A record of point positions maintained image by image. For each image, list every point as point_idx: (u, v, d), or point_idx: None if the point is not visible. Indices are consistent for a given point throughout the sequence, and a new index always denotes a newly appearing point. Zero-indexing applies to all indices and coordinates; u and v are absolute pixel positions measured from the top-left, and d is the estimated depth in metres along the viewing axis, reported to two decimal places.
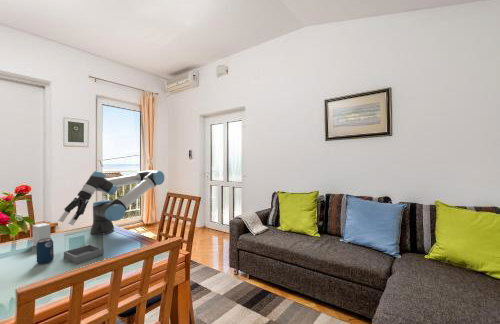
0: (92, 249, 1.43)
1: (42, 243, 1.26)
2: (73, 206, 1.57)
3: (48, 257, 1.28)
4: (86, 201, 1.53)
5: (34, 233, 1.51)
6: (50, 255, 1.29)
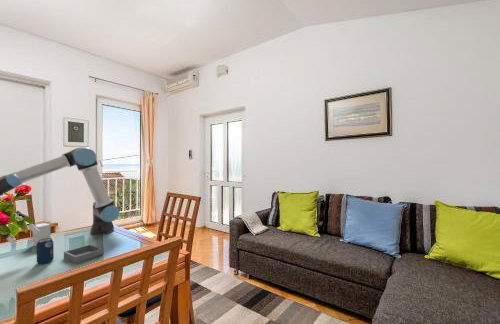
0: (92, 249, 1.43)
1: (42, 243, 1.26)
2: None
3: (48, 257, 1.28)
4: None
5: None
6: (50, 255, 1.29)
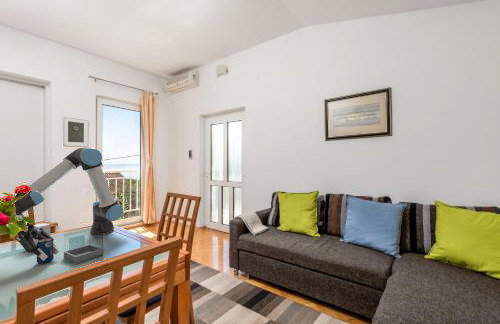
0: (92, 249, 1.43)
1: (42, 243, 1.26)
2: (40, 238, 1.32)
3: (48, 257, 1.28)
4: (18, 239, 1.23)
5: None
6: (50, 255, 1.29)
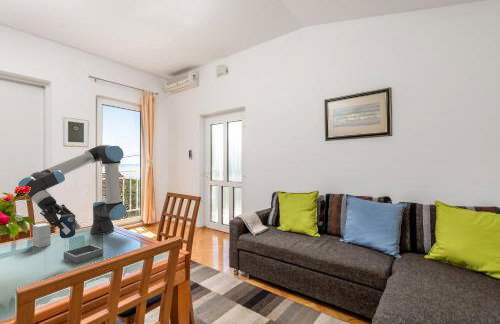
0: (92, 249, 1.43)
1: (64, 217, 1.29)
2: (62, 214, 1.35)
3: (71, 232, 1.31)
4: (42, 212, 1.26)
5: (34, 233, 1.51)
6: (72, 230, 1.32)
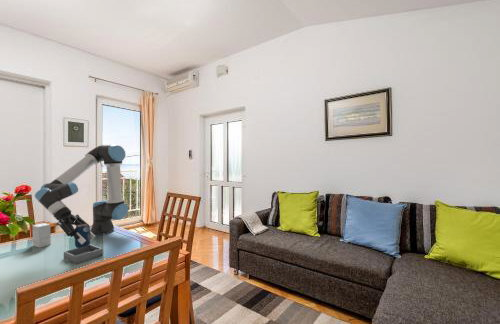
0: (92, 249, 1.43)
1: (80, 227, 1.33)
2: (77, 224, 1.38)
3: (86, 242, 1.34)
4: (59, 223, 1.29)
5: (34, 233, 1.51)
6: (87, 240, 1.35)
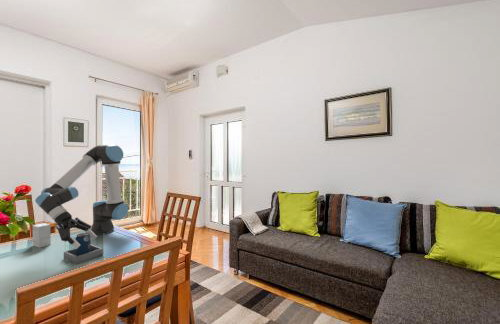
0: (92, 249, 1.43)
1: (80, 237, 1.33)
2: (79, 226, 1.40)
3: (87, 251, 1.34)
4: (58, 226, 1.29)
5: (34, 233, 1.51)
6: (88, 249, 1.35)
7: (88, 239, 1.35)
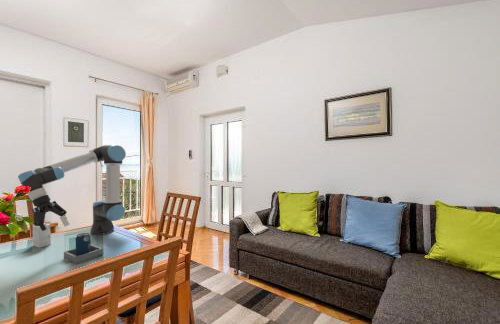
0: (92, 249, 1.43)
1: (80, 237, 1.33)
2: (54, 211, 1.41)
3: (87, 251, 1.34)
4: (34, 210, 1.30)
5: (34, 233, 1.51)
6: (88, 249, 1.35)
7: (88, 239, 1.35)
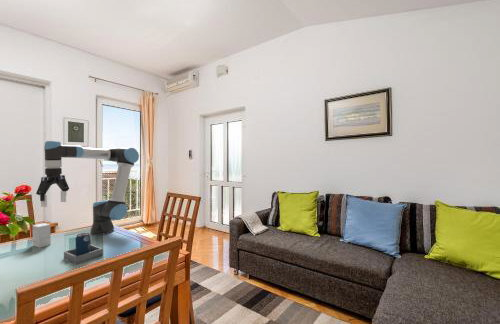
0: (92, 249, 1.43)
1: (80, 237, 1.33)
2: (59, 185, 1.44)
3: (87, 251, 1.34)
4: (43, 179, 1.33)
5: (34, 233, 1.51)
6: (88, 249, 1.35)
7: (88, 239, 1.35)
